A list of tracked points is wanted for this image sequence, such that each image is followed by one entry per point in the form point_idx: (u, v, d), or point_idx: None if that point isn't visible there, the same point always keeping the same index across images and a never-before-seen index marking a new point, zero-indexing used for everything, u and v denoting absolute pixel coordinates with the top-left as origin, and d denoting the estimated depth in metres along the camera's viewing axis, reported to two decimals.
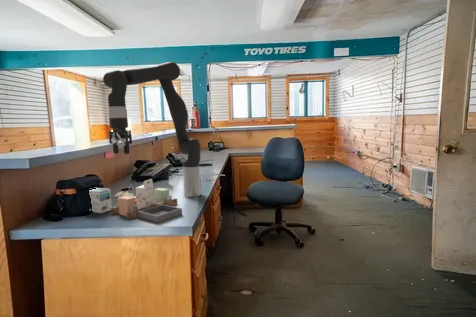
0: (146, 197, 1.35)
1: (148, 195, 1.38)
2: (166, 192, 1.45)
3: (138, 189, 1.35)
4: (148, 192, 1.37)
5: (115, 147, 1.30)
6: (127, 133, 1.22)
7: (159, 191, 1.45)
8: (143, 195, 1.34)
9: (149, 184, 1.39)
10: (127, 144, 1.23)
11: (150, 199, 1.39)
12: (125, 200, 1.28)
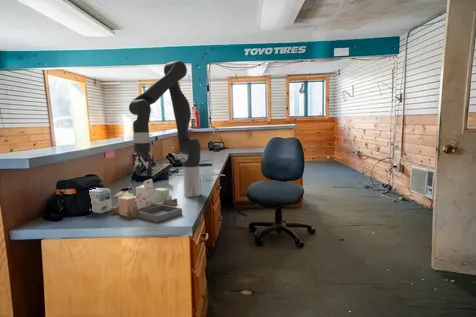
0: (146, 197, 1.35)
1: (148, 195, 1.38)
2: (166, 192, 1.45)
3: (138, 189, 1.35)
4: (148, 192, 1.37)
5: (138, 169, 1.40)
6: (150, 157, 1.32)
7: (159, 191, 1.45)
8: (143, 195, 1.34)
9: (149, 184, 1.39)
10: (150, 167, 1.34)
11: (150, 199, 1.39)
12: (125, 200, 1.28)
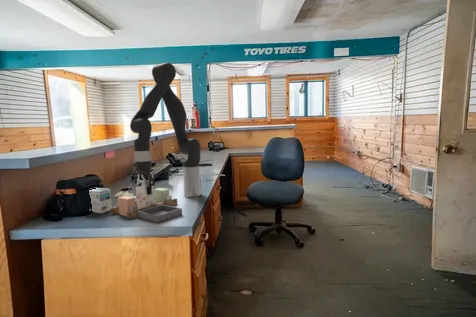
0: (146, 197, 1.35)
1: (149, 195, 1.38)
2: (166, 192, 1.45)
3: (138, 189, 1.35)
4: None
5: None
6: (151, 177, 1.34)
7: (159, 191, 1.45)
8: (143, 195, 1.34)
9: None
10: (150, 186, 1.35)
11: (150, 199, 1.39)
12: (125, 200, 1.28)
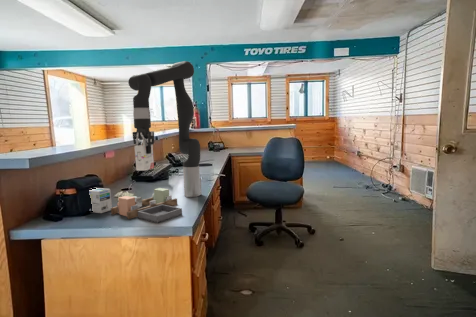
0: (145, 156, 1.31)
1: (148, 155, 1.34)
2: (166, 192, 1.45)
3: (137, 147, 1.30)
4: None
5: None
6: (150, 134, 1.29)
7: (159, 191, 1.45)
8: (142, 153, 1.30)
9: None
10: (149, 144, 1.31)
11: (149, 159, 1.35)
12: (125, 200, 1.28)
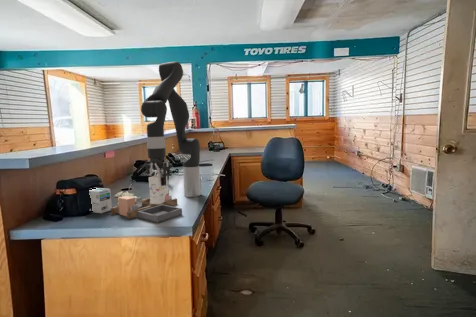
0: (160, 189, 1.22)
1: (163, 186, 1.24)
2: None
3: (151, 179, 1.21)
4: None
5: None
6: (166, 165, 1.20)
7: None
8: (157, 186, 1.21)
9: None
10: (164, 176, 1.22)
11: (164, 190, 1.26)
12: (125, 200, 1.28)
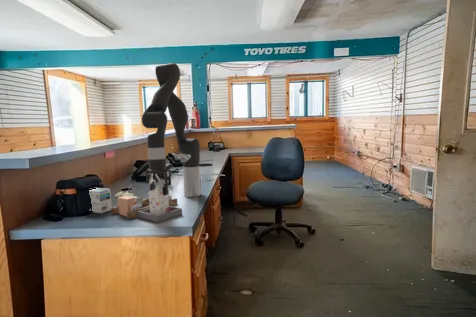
0: (159, 203, 1.23)
1: (163, 200, 1.25)
2: None
3: (151, 193, 1.22)
4: (162, 197, 1.24)
5: (153, 187, 1.28)
6: (167, 175, 1.21)
7: None
8: (156, 200, 1.22)
9: None
10: (166, 186, 1.22)
11: (164, 204, 1.26)
12: (125, 200, 1.28)
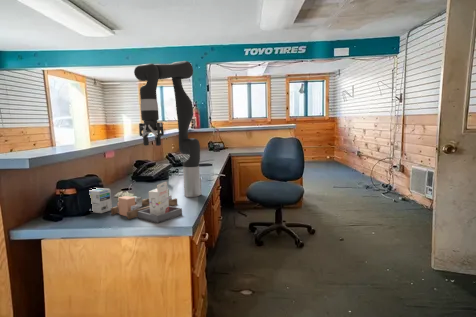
0: (159, 203, 1.23)
1: (163, 200, 1.25)
2: None
3: (151, 193, 1.22)
4: (162, 197, 1.24)
5: (146, 139, 1.32)
6: (159, 125, 1.25)
7: None
8: (156, 200, 1.22)
9: (163, 188, 1.26)
10: (159, 136, 1.26)
11: (164, 204, 1.26)
12: (125, 200, 1.28)
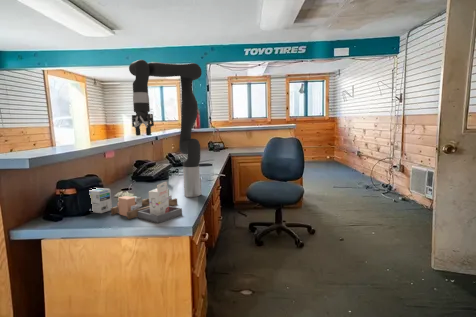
0: (159, 203, 1.23)
1: (163, 200, 1.25)
2: None
3: (151, 193, 1.22)
4: (162, 197, 1.24)
5: (138, 130, 1.43)
6: (150, 116, 1.36)
7: None
8: (156, 200, 1.22)
9: (163, 188, 1.26)
10: (149, 126, 1.37)
11: (164, 204, 1.27)
12: (125, 200, 1.28)
